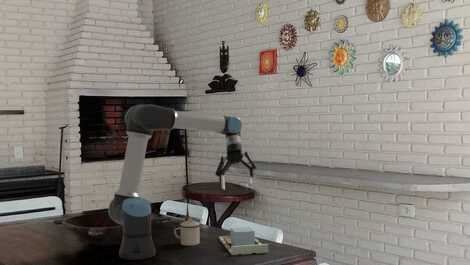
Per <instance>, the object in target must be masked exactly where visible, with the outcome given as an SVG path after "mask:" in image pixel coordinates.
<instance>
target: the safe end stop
mask: <svg viewBox="0 0 470 265" xmlns="http://www.w3.org/2000/svg"><path fill="white" fill-rule="evenodd" d="M230 248H231V254H230V255H231V256H240V255H239V254H241V255H252V253H256V254H265V253H266V254H268V253H269V244H268V243H261V244H255V245H242V246H232V245H231V246H230Z"/></svg>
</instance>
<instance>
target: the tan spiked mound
mask: <svg viewBox="0 0 470 265" xmlns="http://www.w3.org/2000/svg"><path fill="white" fill-rule="evenodd" d="M188 218H190V214H189V203H188V202H187V204H186V214H185V219H184V220H183V222H185V221H187V220H188ZM200 227H203V224H200Z"/></svg>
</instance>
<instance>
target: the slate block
mask: <svg viewBox="0 0 470 265" xmlns="http://www.w3.org/2000/svg"><path fill="white" fill-rule="evenodd" d="M230 236H231V243H230V245H231V246H242V245H256V243H255V238H256V236H255V230H254V229H253V228H252V227H250V226H242V227H241V226H240V227H230Z"/></svg>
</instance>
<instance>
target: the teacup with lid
mask: <svg viewBox="0 0 470 265" xmlns="http://www.w3.org/2000/svg"><path fill="white" fill-rule="evenodd" d="M177 227H178V226H177ZM200 227H201V224H200V223H199V222H197V221H195V220H193V218H191V217H189V218H188V220H187V221H185V222H184V221H183V222H181V223H180V224H179V227H178V228H176V227H175V228H174V231H173V232H174V234H173V235H174V236H175V237H176V238H177V239H180V244H181V245H183V246H187V247H188V246H189V247H190V246H198V245H199V244H200ZM177 230H180V235H178V234H177Z"/></svg>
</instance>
